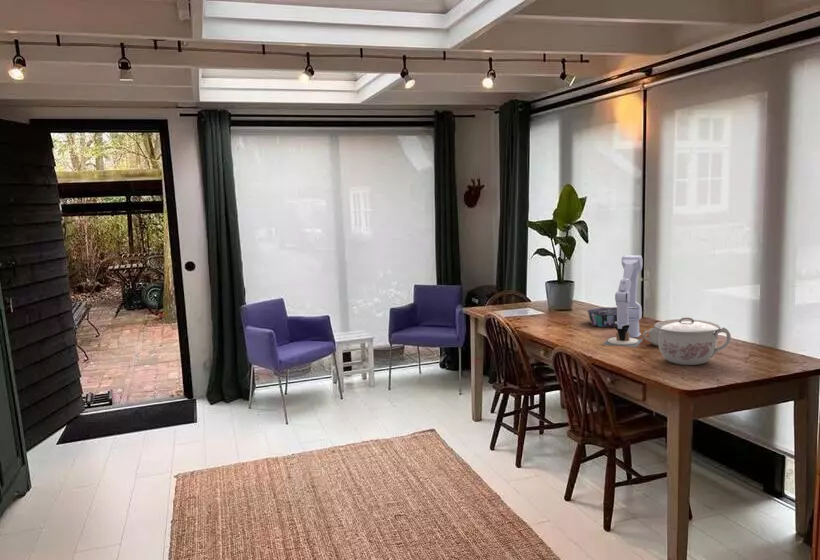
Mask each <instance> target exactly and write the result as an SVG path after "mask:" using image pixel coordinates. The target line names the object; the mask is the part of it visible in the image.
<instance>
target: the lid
mask: <svg viewBox="0 0 820 560" xmlns="http://www.w3.org/2000/svg"><path fill="white" fill-rule="evenodd" d="M613 337H614V336H613ZM609 338H610V337H609ZM609 338H608V339H607V340H608V342H609V343H611V344H615V345H633V344H637V343H638V340H637V339H638V338H636V337H629V333H627V332H626V334H625V340H624V341H623V340H620V338H619V334H618V331H617V332H616V335H615V337H614V338H610V339H609Z"/></svg>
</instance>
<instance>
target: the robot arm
mask: <svg viewBox="0 0 820 560" xmlns="http://www.w3.org/2000/svg"><path fill="white" fill-rule="evenodd" d="M621 265H622V268H623V275H622V279H621V280H620V281H619V284H618V289H617V291H616V292H615V295H614V300H615V306H616V307H617V322H615V324H617V325H618V327H615V329H616V331H617V332H618V334H619V338H620V340H623V341H624V340H625V334H626V332H627V333H629V337H630V338H639V337H641V334H642V333H641V332H640V322H639V321H640V320H641V319H642V316H643V311H642V310H643V309H642V308H643V307H642V305H641V304H640V303H639V302H637V298H638V286H639V285H638V282H639V273H640V272H642V269H643V257H642V255H627V254H626V255H625V254H624V255H622V256H621Z"/></svg>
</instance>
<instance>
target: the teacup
mask: <svg viewBox="0 0 820 560" xmlns="http://www.w3.org/2000/svg"><path fill="white" fill-rule="evenodd" d="M659 332H660V330H659V329H657V328H655V327H652V328H649V330H645V331H644V332H643V334H642V336H643V338H644V339H646V340H647V341H648V342H649V343H651V344H652V345H653V346H657V347H659V345H658V341H657V335H658V333H659ZM646 334H648V335H649V337H647V336H646Z"/></svg>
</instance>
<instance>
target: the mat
mask: <svg viewBox="0 0 820 560" xmlns="http://www.w3.org/2000/svg"><path fill="white" fill-rule="evenodd" d="M610 338H614V336H610V337H609V338H608V339H610ZM608 339H606V340H605V341H604V342H603V343H602V345H603V346H616V347H629V348H637V347H638V346H639V345H640V344H641V343H642V342H643V340H644V339H643V338H636V339H637V340H638V343H637V344H633V345H615V344H611V343H609V342H608Z"/></svg>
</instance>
